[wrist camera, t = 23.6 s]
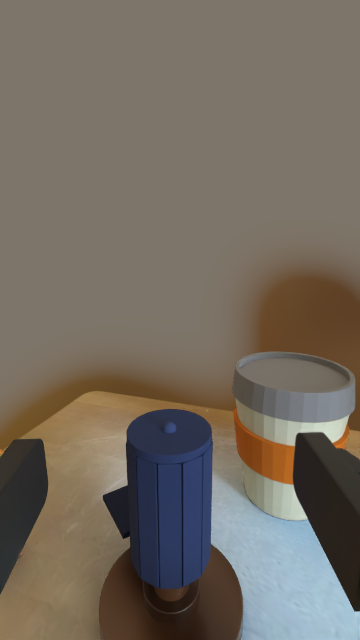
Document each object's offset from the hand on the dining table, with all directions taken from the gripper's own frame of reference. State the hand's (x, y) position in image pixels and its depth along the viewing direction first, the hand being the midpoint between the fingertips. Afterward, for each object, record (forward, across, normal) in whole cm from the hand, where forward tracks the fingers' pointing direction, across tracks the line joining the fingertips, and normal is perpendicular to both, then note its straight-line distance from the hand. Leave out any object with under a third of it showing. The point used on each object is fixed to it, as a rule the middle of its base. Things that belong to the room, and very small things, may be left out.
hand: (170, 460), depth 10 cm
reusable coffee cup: (+23, -13, +22) cm, 34 cm away
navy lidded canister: (+13, +1, +16) cm, 20 cm away
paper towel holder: (+11, 0, +21) cm, 24 cm away
